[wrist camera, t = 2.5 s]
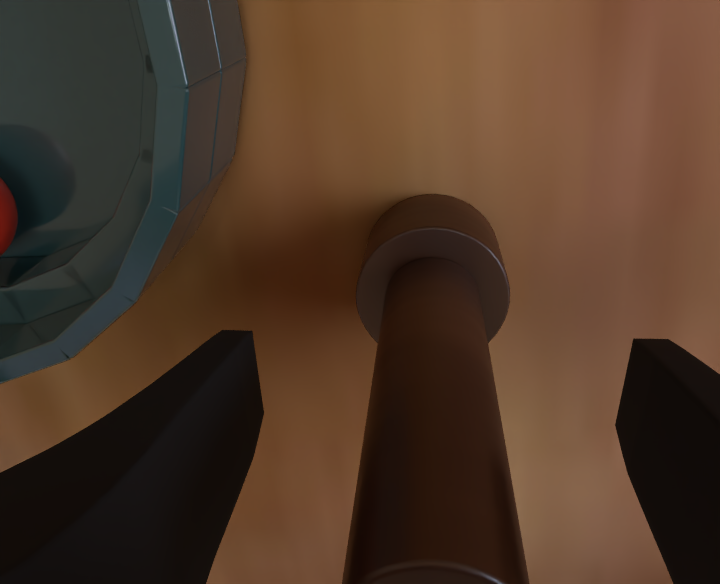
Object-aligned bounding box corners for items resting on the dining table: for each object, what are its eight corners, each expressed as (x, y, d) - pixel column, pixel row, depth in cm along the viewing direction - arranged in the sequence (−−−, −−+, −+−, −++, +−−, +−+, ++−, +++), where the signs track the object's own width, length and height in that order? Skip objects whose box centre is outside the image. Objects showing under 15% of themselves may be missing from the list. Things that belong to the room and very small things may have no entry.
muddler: (392, 330, 18) (346, 748, 8) (346, 220, 16) (219, 553, 6) (514, 294, 17) (637, 714, 7) (475, 174, 15) (557, 479, 6)
